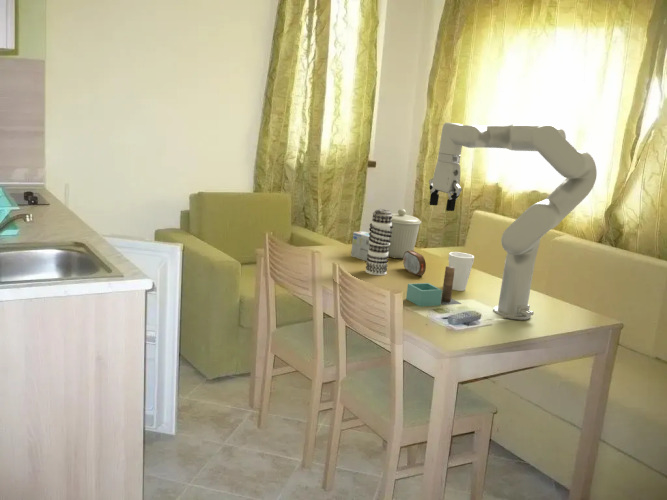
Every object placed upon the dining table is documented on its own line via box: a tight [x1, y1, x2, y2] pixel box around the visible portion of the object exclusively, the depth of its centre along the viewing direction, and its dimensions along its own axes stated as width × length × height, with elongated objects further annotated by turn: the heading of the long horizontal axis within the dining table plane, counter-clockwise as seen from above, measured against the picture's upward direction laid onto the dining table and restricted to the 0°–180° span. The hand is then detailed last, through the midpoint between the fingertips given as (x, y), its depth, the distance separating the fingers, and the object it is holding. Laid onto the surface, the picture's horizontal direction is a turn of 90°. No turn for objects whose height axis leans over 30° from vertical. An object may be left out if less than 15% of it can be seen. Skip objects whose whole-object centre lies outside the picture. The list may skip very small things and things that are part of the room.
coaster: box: [440, 296, 463, 306], centre depth 243 cm, size 8×8×1 cm
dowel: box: [441, 265, 455, 302], centre depth 241 cm, size 3×3×12 cm
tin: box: [402, 250, 427, 277], centre depth 280 cm, size 15×3×8 cm, turn 22°
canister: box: [388, 208, 422, 259], centre depth 306 cm, size 18×18×21 cm
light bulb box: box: [350, 231, 370, 262], centre depth 296 cm, size 11×7×11 cm, turn 43°
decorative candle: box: [365, 208, 393, 276], centre depth 272 cm, size 9×9×25 cm
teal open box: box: [405, 282, 443, 307], centre depth 238 cm, size 8×8×6 cm
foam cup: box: [447, 251, 475, 292], centre depth 262 cm, size 10×9×13 cm
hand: (441, 207), depth 244 cm, fingers open, 9 cm apart
